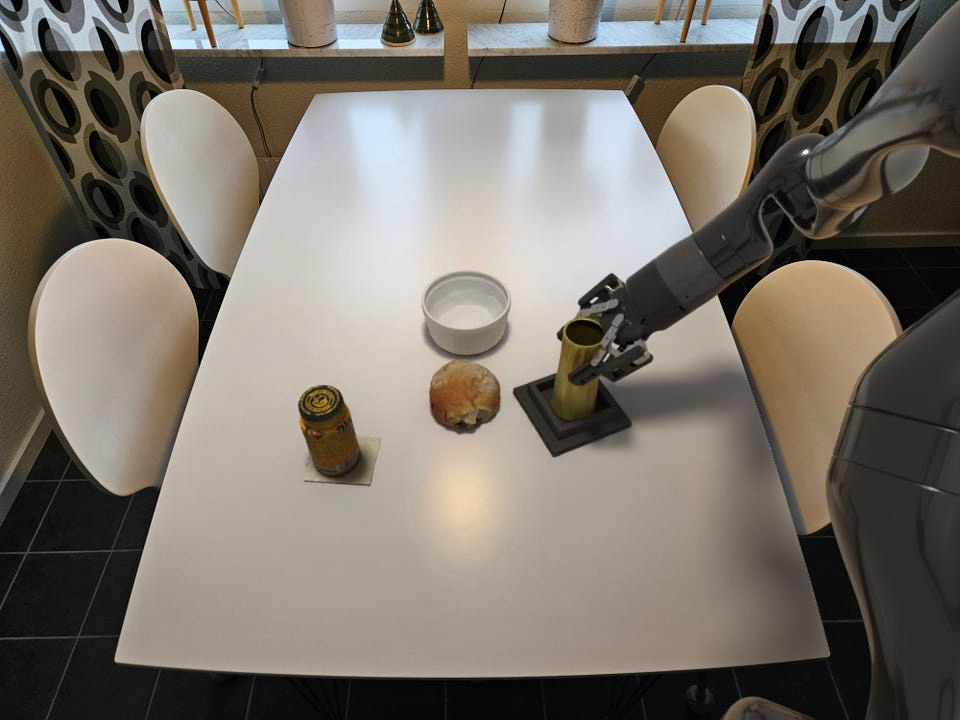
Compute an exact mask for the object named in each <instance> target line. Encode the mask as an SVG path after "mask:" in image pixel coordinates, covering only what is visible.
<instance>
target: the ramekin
mask: <svg viewBox="0 0 960 720" xmlns="http://www.w3.org/2000/svg"><path fill="white" fill-rule="evenodd" d="M511 296H512V295H511V292H510V290H509V288H508V286H507V285H506V283H504V282H503V281H502V280H501V279H500V278H498V277H497V276H495V275H494V274H491V273H489V272H486V271H482V270H477V269H457V270H456V269H455V270H451V271H448V272H444V273H442V274H440V275H438V276H436V277H434V278H433V279H432V280H431V281H430V282H429V283H428V284H427V285H426V286H425V288H424V289H423V292H422V294H421V310H422V313H423V316H424V318H425V321H426V326H427V329H428V331H429V334H430V337H431V339H432V340H433V342H435V344H437V345H438V347H440V348H441V349H443V350H445V351H446V352H448V353H451V354H455V355H461V356H472V355H478V354H481V353H484V352H487V351H488V350H490V349H492V348H493V347H494V346H496V345H498V343H499V342H500V341H501V339H502V338H503V335H504V333H505V330H506V327H507V323H508V317H509V314H510V311H511V307H512V297H511Z"/></svg>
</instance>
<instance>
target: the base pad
mask: <svg viewBox="0 0 960 720" xmlns="http://www.w3.org/2000/svg"><path fill="white" fill-rule="evenodd" d="M556 375H557V372H555V373H552V374H549V375H546V376H543V377H541V378H538V379H535V380H532V381H530V382H529V381H528V382H527V383H525V384H522V385H518V386H515V387H513V388H512V394H513V395H514V397H515V398H516V400H517V401H518V403H519V404H520V406H521V409H522V410H523V411H524V413H525V414H526V416H527V418H528V419H529V421H530V422H531V424H532V425H533V427H534V429H535V430H536V432H537V434H538V435H539V436H540V438H541V440H542V441H543V443H544V445H545V446H546V448H547V449H548V451H549V453H550V454H551V456H552V457H553V458H555V457H557V456H560V455H562V454H565V453H567V452H570V451H573V450H576V449H578V448H581V447H583V446H585V445H588V444H591V443H593V442H595V441H596V442H597V441H598V440H601V439H603V438H605V437H606V438H607V437H608V436H611V435H613V434H616V433H618V432H619V433H620V432H622V431H625V430H626V429H629V428H631V427H632V426H633V421H632V420H631V418H630V417H629V416H628V415H627V414H626V412H625V411H624V409H623V408H622V406H621V405H620V404H619V403H618V401H617V400H616V399H615V398H614V396H613V394H612V393H611V392H610V391H609V389H608V388H607V387H606V385H605V384H604V383H603V381H602V380H601V379H600V378H599V379H598V388H597V396H596V403H595V405H596V407H595V411H594V413H593V414H591V415H589V416H586V417H584V418H581V419H578V420H576V421H573V422H571V421H567V420H564V419H562V418H560V417H559V416H557V415H556V414H555V413H554V411H553V410H552V407H551V398H552V395H553V390H554V385H555V380H556Z"/></svg>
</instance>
